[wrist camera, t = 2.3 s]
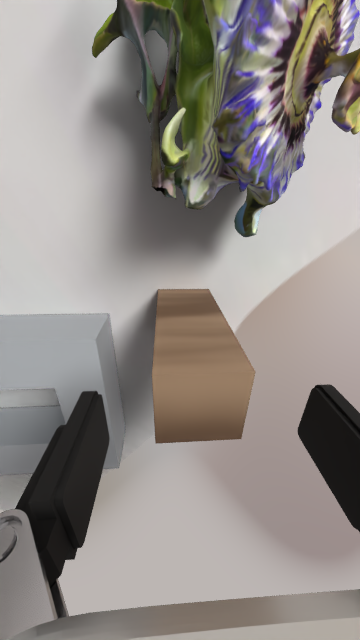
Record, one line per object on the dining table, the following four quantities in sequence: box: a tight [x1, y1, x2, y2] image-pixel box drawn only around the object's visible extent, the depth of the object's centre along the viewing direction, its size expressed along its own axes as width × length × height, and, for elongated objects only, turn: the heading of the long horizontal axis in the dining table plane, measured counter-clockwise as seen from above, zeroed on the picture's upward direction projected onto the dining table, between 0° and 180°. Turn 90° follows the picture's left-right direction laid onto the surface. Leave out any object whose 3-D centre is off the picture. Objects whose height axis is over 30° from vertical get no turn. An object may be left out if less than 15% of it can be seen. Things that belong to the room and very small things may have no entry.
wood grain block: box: [152, 289, 255, 443], centre depth 14 cm, size 4×4×10 cm
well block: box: [0, 314, 126, 475], centre depth 19 cm, size 14×16×4 cm
